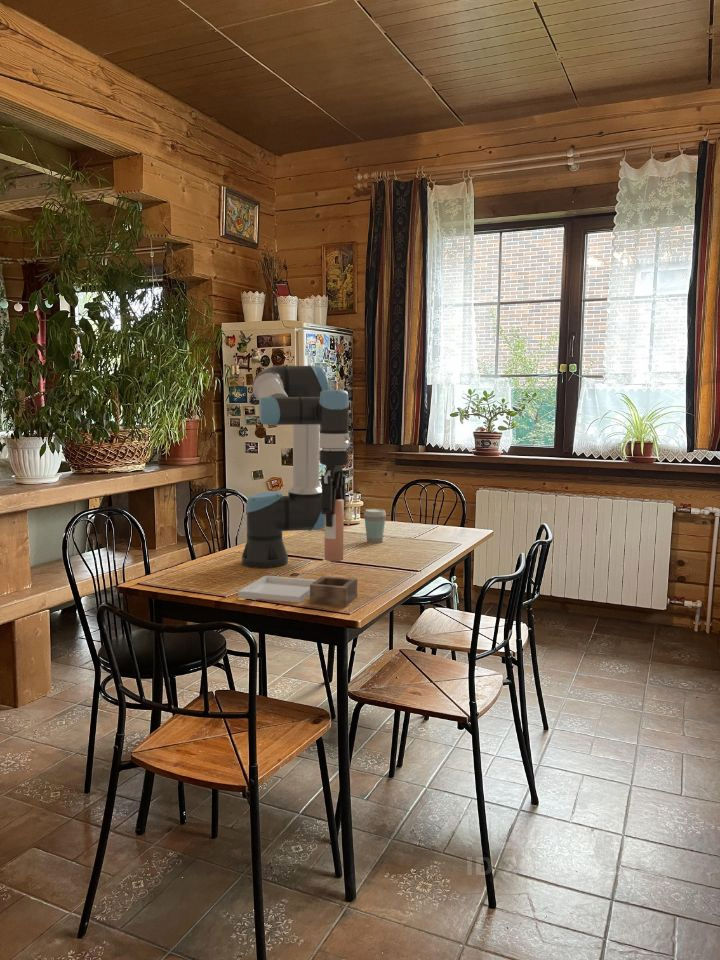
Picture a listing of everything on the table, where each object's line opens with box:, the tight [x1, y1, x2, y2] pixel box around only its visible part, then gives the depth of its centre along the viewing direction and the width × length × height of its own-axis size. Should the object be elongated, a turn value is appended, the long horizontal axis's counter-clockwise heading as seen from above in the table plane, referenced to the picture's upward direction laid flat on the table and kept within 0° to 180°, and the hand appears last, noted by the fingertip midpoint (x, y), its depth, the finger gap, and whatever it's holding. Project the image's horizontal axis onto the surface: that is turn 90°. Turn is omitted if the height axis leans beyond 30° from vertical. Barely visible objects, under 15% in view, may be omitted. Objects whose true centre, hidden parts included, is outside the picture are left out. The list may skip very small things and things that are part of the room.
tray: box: [237, 575, 317, 603], centre depth 207 cm, size 18×18×2 cm
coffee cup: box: [363, 508, 387, 544], centre depth 279 cm, size 8×8×12 cm
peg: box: [323, 499, 345, 562], centre depth 196 cm, size 5×5×16 cm
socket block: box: [309, 575, 358, 608], centre depth 198 cm, size 10×10×6 cm
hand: (333, 536), depth 197 cm, fingers closed on peg, 5 cm apart
